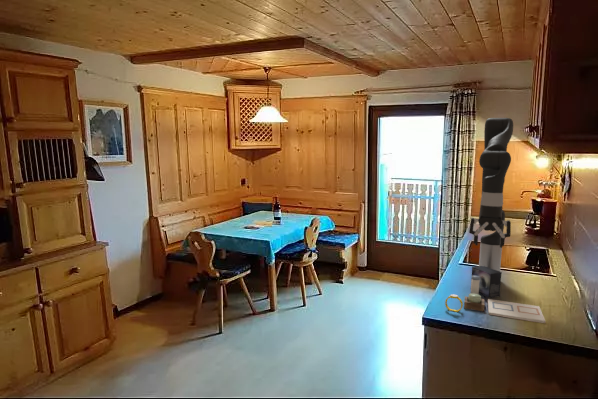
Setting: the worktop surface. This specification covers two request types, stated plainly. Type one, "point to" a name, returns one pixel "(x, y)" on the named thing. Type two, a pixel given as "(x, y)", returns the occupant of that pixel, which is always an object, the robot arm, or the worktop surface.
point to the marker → (475, 284)
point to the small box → (488, 281)
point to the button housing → (474, 305)
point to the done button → (474, 298)
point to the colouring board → (515, 310)
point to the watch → (453, 297)
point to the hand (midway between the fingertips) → (488, 246)
